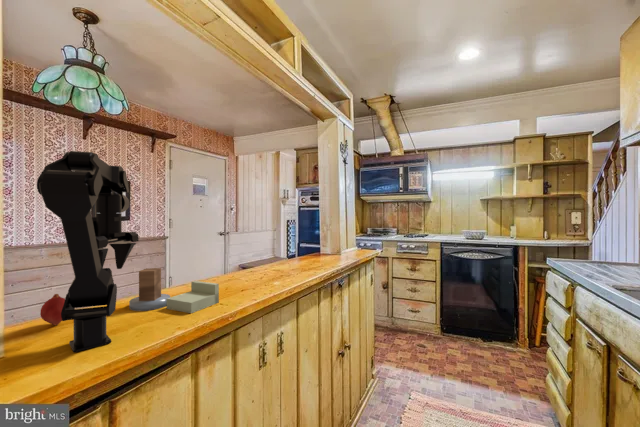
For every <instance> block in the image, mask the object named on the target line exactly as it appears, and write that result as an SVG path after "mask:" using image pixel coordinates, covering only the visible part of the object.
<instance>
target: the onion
mask: <svg viewBox="0 0 640 427" xmlns="http://www.w3.org/2000/svg"><path fill="white" fill-rule="evenodd" d="M64 302H65V298H64V297H61V296H60V295H59V293H54V294H53V296H52V297H51V298H49V299H47V300H46V301H45V302H44V304H43V305H41V306H42V307H41V308H40V318H41V319H42V320H43V321H45V322H46V323H48V324H51V325H53V326H57V325H59V324H60V323H61V322H63V321H62V318H61V311H62V308H63V305H64Z"/></svg>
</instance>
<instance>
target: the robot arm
mask: <svg viewBox="0 0 640 427" xmlns="http://www.w3.org/2000/svg"><path fill="white" fill-rule="evenodd" d="M36 189H37V192H38V193H39V194H38V195H41V197H42V201H43V203H44V205H45V208H46V209H47V210H49V211H50V212H52V214H54V215H56V216H57V217H58V218H59V219H60V221H61V226H62V229H63V233H64V238H65V241H66V246H67V250H68V253H69V258H70V262H71V266H72V270H73V274H74V278H73V279H72V282H71V284H70V286H69V288H68V291H67V294H66V295H65V298H64V299H65V302H64V305H63V308H62V311H61V318H62V321H61V322H66V321H73V339H72V340H70V341H69V344H68V345H69V346H70V348H71V350H72V352H73V353H78V352H82V351H84V350H89V349H93V348H96V347H101V346H104V345H107V344H111V343H112V339H111V338H110V337H109V335H108V334H107V317H111V316H112V314H114V312H115V311H116V305H117V296H118V286H117V283H114V281H115V280H114V278H113V272H112V269H111V268H110V267H106V268H105V267H104V265H105V261H106V257H107V255H108V252H109V248H108V245H109V246H110V247H111V248H112V249H113V250H114V256H115V258H114V259H115V260H114V261H115V266H116V269H117V270H122V269H123V267H124V264H126V260H127V258H128V257H129V255H130V253H131V252H132V250H133V248H134V246H135V245H137V242H139V238H140V237H139V234H138V233H137V232H136V231H122V230H123V228H122V227H123V226H122V223H123V222H125V221H126V216H123V215H122V213H124V212H126V211H127V210H128V209H129V207H130V204H131V203H130V199H129V198H128V197H127V196H126V195H125V194H124V193H130V189H129V182H128V174H127V171H126V170H124V168H123V167H122V166H120V165H109V164H108V163H107V162H105V161H104V160H103V159H101V158H100V157H99V155H98V153H94V152H93V151H76V150H70V151H66V152H65V153H64V155H63V156H62V157H61V158H59V159H57V160H55V161H53V162H51V163H49V164H47V165H46V166H45V167H44V168H43V170H42V171H41V173H40V175H39V176H38V178H37V179H36ZM93 207H94V214H95V215H94V216H93V215H92V211H91V210H92V209H93ZM122 221H123V222H122Z"/></svg>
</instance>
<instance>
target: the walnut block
mask: <svg viewBox="0 0 640 427" xmlns="http://www.w3.org/2000/svg"><path fill="white" fill-rule="evenodd" d="M161 294H162V268H160V267H157V268H156V267H155V268H152V267H151V268H150V267H148V268H144V269H141V270H139V271H138V297H139V301H155V300H156V299H158V298H159V297H161Z"/></svg>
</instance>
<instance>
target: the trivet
mask: <svg viewBox="0 0 640 427" xmlns="http://www.w3.org/2000/svg"><path fill="white" fill-rule="evenodd" d="M167 298H171V295H170V294H167V293H161V297H159V298H158V299H156V300H155V301H139V296H136V297H134V298H131V299H130V300H128V301H129V310H130V311H133V312H134V311H135V312H148V311H154V310H159V309H162V308H164V307H165V308H166V299H167Z"/></svg>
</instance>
